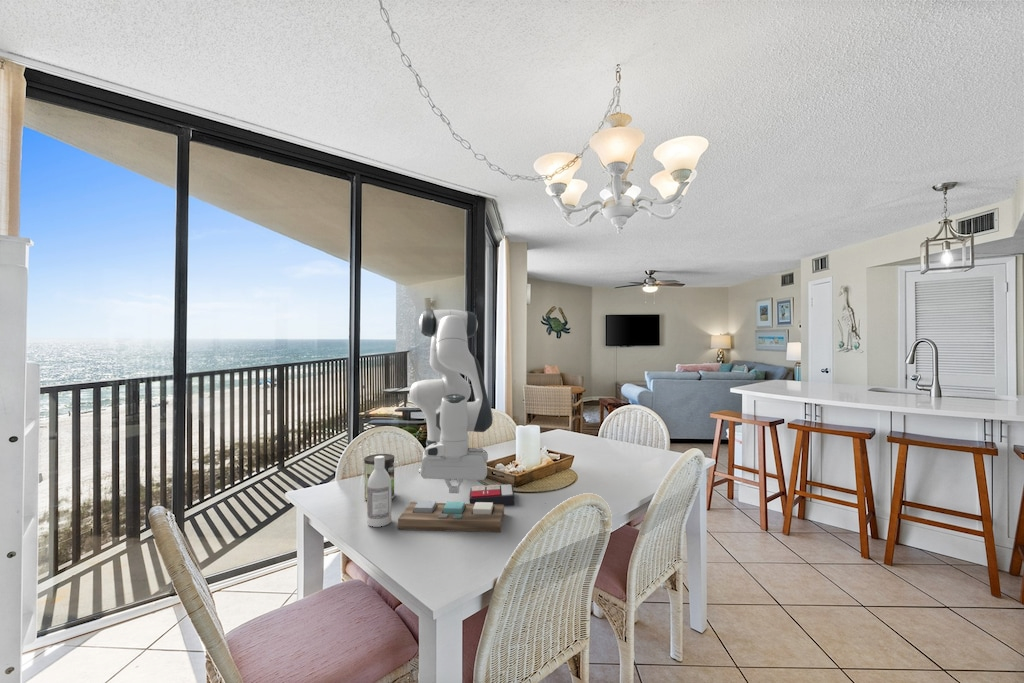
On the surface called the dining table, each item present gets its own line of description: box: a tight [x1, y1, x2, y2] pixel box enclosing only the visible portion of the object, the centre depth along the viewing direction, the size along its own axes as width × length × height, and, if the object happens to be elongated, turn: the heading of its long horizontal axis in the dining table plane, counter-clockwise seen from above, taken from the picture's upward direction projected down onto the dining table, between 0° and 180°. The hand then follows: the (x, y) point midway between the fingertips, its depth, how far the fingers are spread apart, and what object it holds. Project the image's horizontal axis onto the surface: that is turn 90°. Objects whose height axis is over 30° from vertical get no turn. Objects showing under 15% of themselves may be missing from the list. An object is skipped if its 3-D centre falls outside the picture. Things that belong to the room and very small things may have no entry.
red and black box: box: [468, 483, 516, 507], centre depth 150 cm, size 11×4×15 cm
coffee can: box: [363, 453, 395, 501], centre depth 152 cm, size 10×10×14 cm
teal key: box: [443, 501, 466, 514], centre depth 133 cm, size 6×6×2 cm
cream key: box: [473, 502, 493, 515], centre depth 133 cm, size 6×6×2 cm
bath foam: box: [366, 456, 392, 528], centre depth 131 cm, size 7×7×20 cm
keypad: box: [397, 501, 505, 533], centre depth 132 cm, size 13×30×3 cm, turn 86°
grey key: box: [414, 500, 437, 513], centre depth 134 cm, size 6×6×2 cm
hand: (454, 492), depth 133 cm, fingers closed
